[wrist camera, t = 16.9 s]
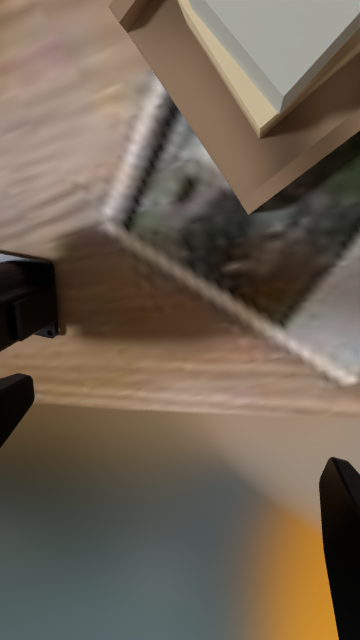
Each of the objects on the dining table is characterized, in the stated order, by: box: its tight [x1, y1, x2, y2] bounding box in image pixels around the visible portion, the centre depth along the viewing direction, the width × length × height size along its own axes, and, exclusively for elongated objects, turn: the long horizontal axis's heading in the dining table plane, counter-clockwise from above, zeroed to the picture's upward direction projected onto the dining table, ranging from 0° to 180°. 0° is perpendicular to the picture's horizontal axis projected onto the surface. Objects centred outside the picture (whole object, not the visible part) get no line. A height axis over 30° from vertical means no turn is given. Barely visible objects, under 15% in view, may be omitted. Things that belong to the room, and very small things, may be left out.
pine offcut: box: [178, 0, 360, 139], centre depth 13 cm, size 6×6×2 cm
